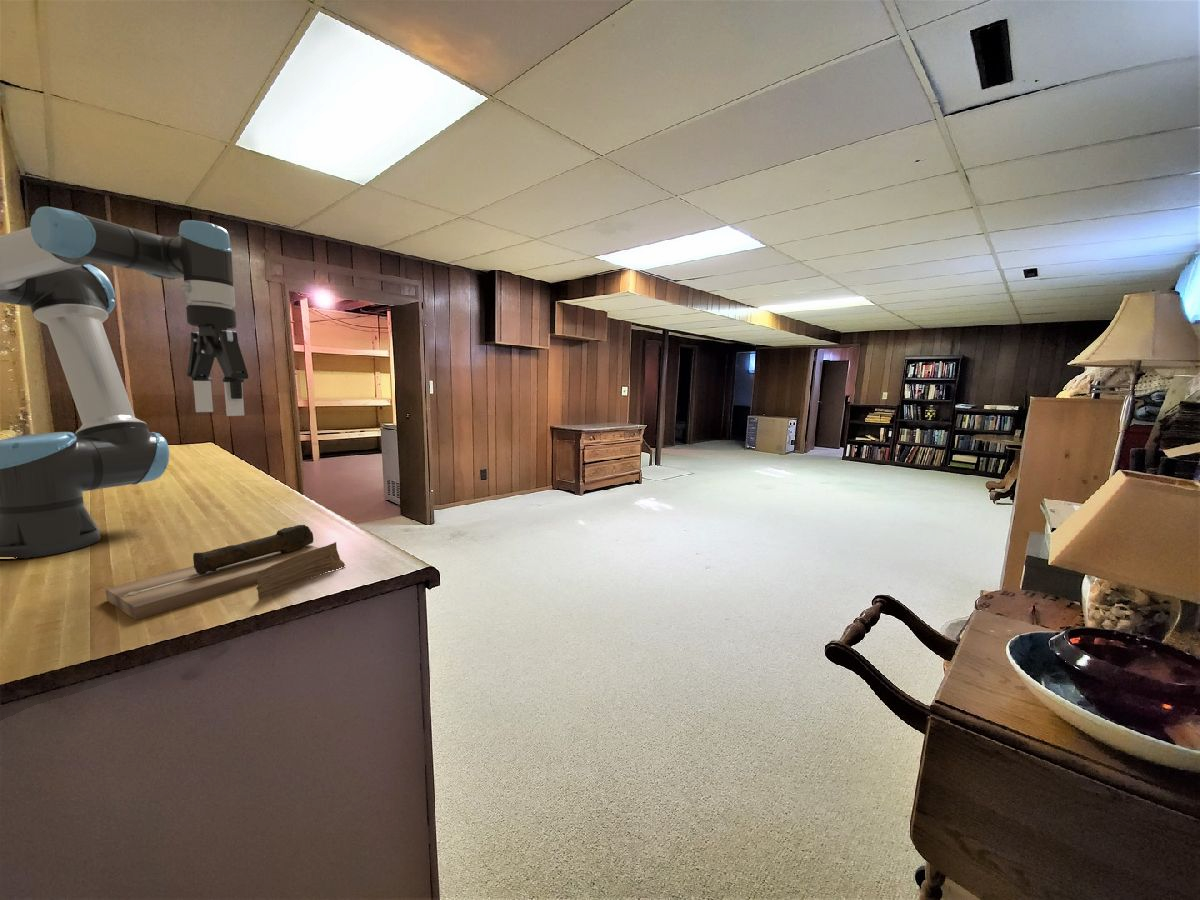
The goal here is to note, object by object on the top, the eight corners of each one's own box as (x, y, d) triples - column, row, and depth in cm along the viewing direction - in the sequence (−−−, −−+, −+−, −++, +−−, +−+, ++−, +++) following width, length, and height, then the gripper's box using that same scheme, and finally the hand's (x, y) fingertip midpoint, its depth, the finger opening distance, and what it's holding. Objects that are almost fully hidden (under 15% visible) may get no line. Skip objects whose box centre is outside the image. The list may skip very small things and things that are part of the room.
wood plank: (265, 602, 74) (262, 572, 73) (255, 600, 74) (253, 570, 74) (345, 568, 88) (343, 542, 88) (336, 566, 89) (335, 541, 88)
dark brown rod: (201, 578, 77) (198, 551, 76) (192, 572, 79) (190, 546, 78) (320, 547, 93) (318, 525, 92) (310, 543, 95) (308, 521, 94)
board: (106, 600, 73) (105, 587, 73) (294, 549, 97) (294, 539, 97) (136, 620, 67) (134, 606, 67) (328, 560, 91) (327, 550, 91)
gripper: (160, 307, 94) (170, 411, 97) (217, 299, 82) (226, 418, 85) (206, 312, 101) (213, 410, 104) (264, 306, 89) (271, 416, 91)
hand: (219, 414), depth 94 cm, fingers open, 13 cm apart
